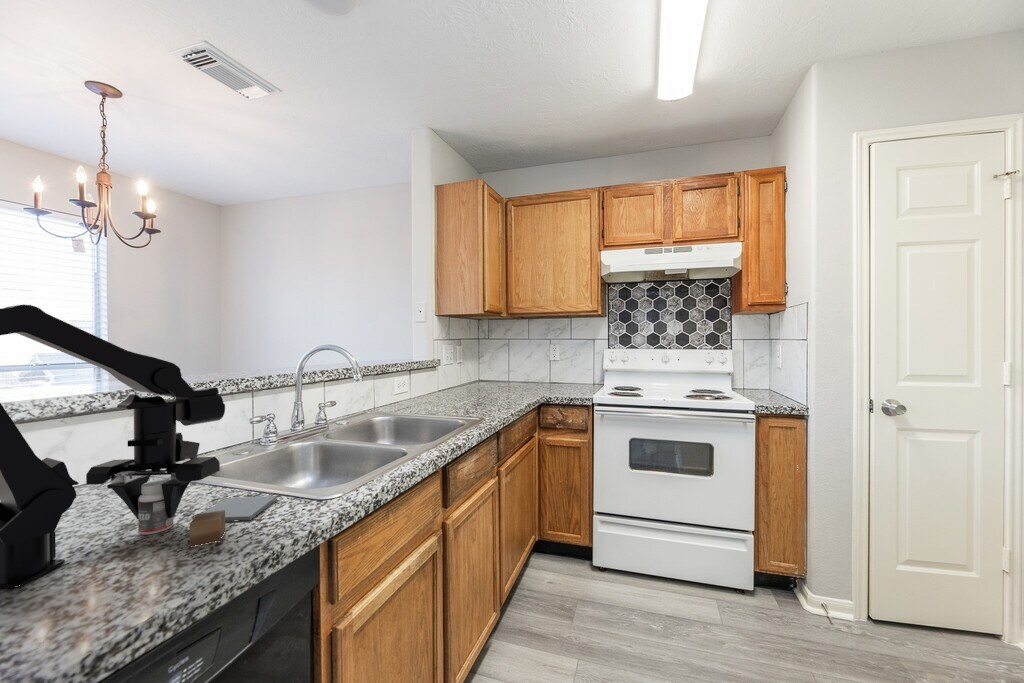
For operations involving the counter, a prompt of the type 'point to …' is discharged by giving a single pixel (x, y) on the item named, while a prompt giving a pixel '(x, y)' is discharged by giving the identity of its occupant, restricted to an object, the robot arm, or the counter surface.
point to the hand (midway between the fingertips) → (156, 517)
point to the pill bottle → (152, 509)
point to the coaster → (242, 507)
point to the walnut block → (207, 527)
